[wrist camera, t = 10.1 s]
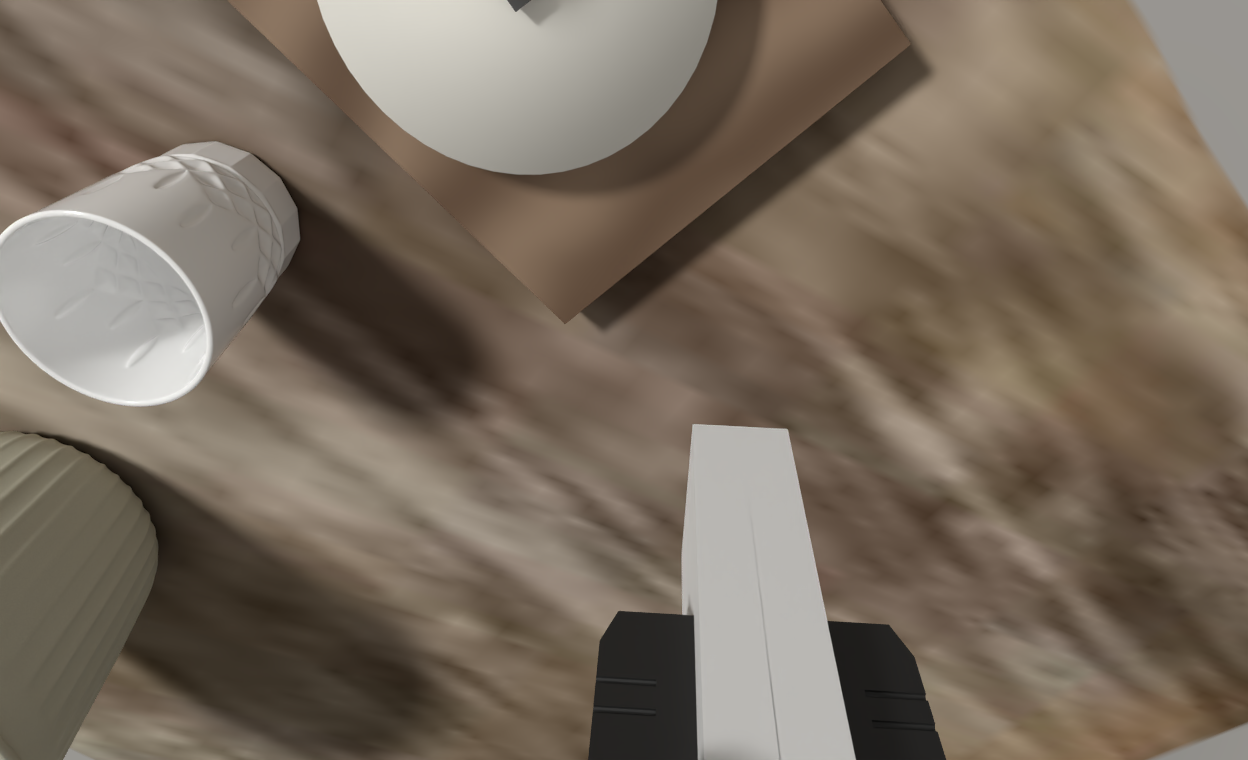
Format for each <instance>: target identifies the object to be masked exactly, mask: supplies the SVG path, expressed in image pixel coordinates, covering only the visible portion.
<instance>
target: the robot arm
mask: <svg viewBox="0 0 1248 760" xmlns="http://www.w3.org/2000/svg"><path fill="white" fill-rule="evenodd" d="M925 695H926V693H925V690H924V687H923V683H922V680H921V677H920V674H919V670H918V667H917V664H916V661H915V657H914V656H913V655H912V653H911V652H910V651H909V650H908V648H907V647H906V646H905V645H904V643H903V642H902V641H901V640H900V638H899V637H898V636H897V635H896V633H895V632H894V631H893V630H892V628H891V627H890V626H889V625H885V624H868V623H851V622H834V621H827V618H826V613H825V608H824V603H823V598H822V593H821V589H820V584H819V579H818V574H817V569H816V564H815V559H814V555H813V550H812V545H811V540H810V535H809V530H808V526H807V521H806V516H805V511H804V506H803V501H802V496H801V492H800V487H799V482H798V477H797V472H796V467H795V463H794V458H793V453H792V448H791V443H790V438H789V433H788V429H776V428H757V427H738V426H719V425H700V424H693V427H692V438H691V450H690V462H689V474H688V485H687V497H686V509H685V521H684V533H683V544H682V615H677V614H660V613H643V612H626V611H618V613H617V614H616V616H615V617H614V619H613V621H612V622H611V624H610V625H609V627H608V628H607V630H606V632H605V633H604V635H603V636H602V638H601V640H600V644H599V655H598V665H597V675H596V685H595V696H594V707H593V716H592V726H591V737H590V747H589V757H588V760H946V758H945V755H944V751H943V748H942V745H941V742H940V738H939V735H938V732H936V731H935V722H934V719H933V716H932V712H931V709H930V706H929V703H928V701H926V698H925Z"/></svg>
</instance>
